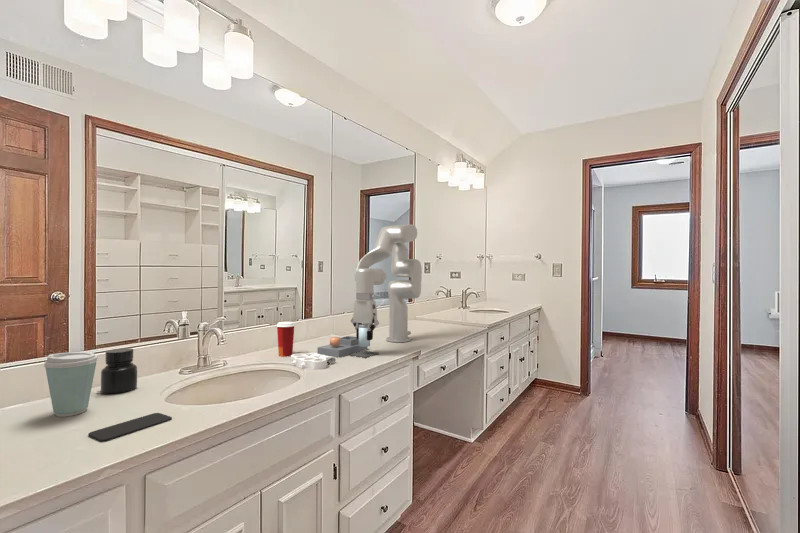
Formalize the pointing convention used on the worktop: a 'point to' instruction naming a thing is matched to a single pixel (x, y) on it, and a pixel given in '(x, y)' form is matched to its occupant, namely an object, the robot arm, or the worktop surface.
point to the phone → (128, 427)
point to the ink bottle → (119, 372)
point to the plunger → (335, 341)
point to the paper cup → (285, 338)
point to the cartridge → (363, 336)
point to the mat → (364, 354)
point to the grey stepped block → (342, 347)
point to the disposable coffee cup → (70, 381)
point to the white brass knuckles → (311, 360)
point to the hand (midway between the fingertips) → (364, 338)
